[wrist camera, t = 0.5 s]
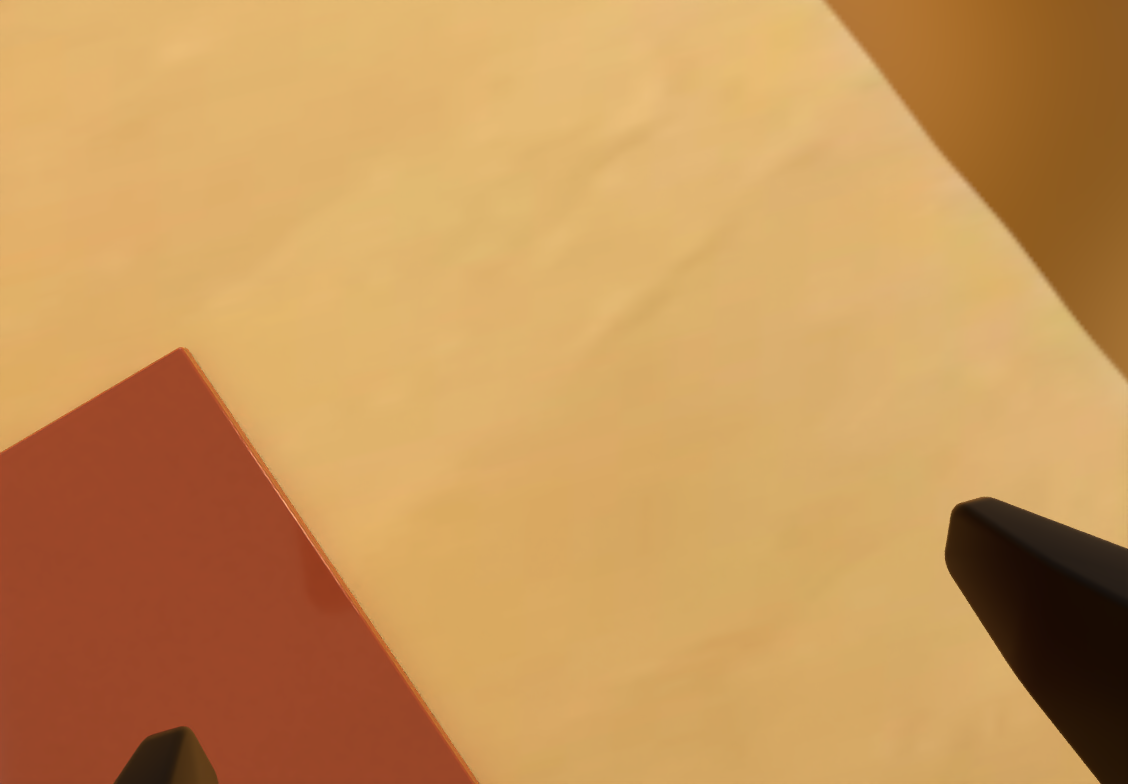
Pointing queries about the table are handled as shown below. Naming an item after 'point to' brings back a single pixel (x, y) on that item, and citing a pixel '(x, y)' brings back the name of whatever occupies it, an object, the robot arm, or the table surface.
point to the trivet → (185, 608)
